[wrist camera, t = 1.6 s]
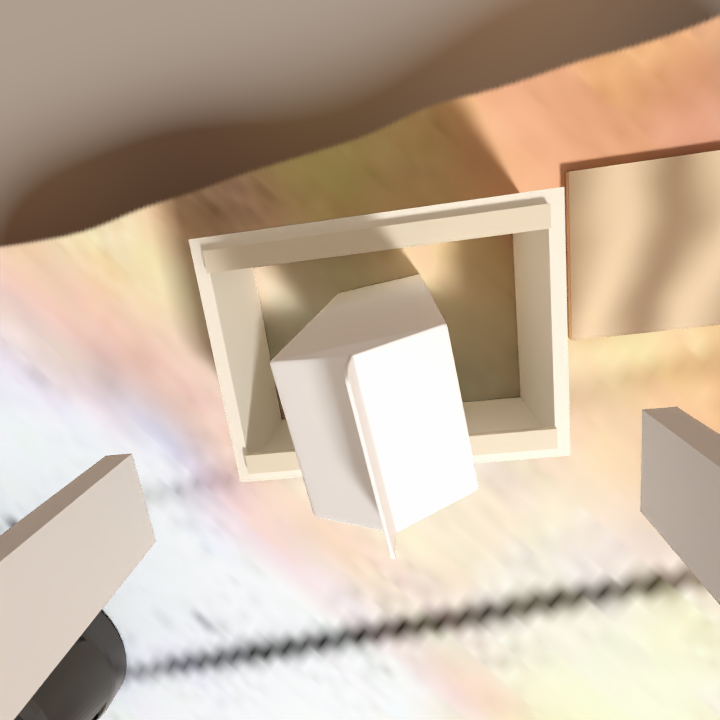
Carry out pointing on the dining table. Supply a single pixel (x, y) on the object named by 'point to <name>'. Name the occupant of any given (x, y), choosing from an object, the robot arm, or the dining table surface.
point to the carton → (385, 232)
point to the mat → (644, 246)
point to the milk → (377, 408)
